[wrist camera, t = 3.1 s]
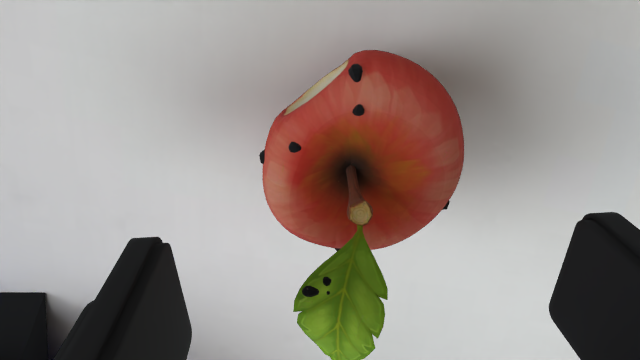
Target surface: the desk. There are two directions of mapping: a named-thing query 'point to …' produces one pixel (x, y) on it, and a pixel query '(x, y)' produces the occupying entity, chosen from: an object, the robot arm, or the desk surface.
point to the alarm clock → (23, 326)
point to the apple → (360, 184)
